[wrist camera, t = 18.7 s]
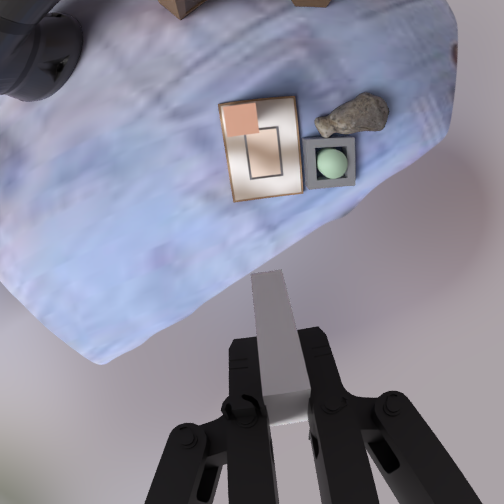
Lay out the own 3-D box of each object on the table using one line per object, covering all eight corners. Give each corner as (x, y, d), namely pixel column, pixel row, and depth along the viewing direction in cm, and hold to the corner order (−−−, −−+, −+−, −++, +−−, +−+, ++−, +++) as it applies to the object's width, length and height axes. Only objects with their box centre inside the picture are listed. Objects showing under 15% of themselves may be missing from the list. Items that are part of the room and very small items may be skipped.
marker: (226, 106, 31) (222, 107, 21) (248, 103, 31) (255, 102, 21) (229, 126, 33) (227, 137, 22) (251, 124, 33) (259, 132, 22)
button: (313, 147, 35) (319, 151, 33) (340, 146, 35) (347, 149, 33) (315, 174, 37) (320, 179, 35) (341, 172, 37) (347, 177, 35)
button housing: (301, 137, 34) (305, 139, 33) (349, 135, 34) (354, 137, 33) (305, 185, 38) (308, 189, 36) (350, 181, 38) (355, 185, 36)
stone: (312, 137, 35) (359, 167, 33) (305, 116, 30) (360, 147, 28) (348, 95, 34) (394, 120, 32) (346, 71, 29) (397, 97, 26)
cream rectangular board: (218, 104, 31) (217, 104, 31) (294, 95, 31) (295, 95, 31) (233, 201, 39) (233, 202, 38) (302, 192, 39) (303, 193, 38)
